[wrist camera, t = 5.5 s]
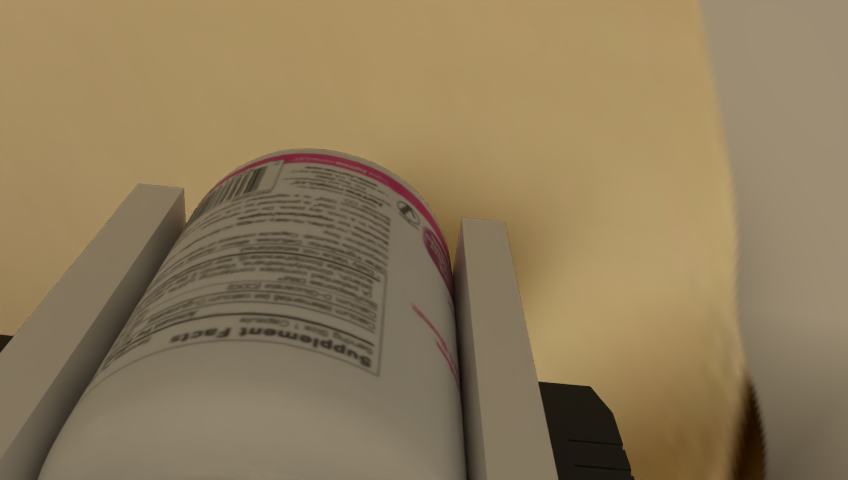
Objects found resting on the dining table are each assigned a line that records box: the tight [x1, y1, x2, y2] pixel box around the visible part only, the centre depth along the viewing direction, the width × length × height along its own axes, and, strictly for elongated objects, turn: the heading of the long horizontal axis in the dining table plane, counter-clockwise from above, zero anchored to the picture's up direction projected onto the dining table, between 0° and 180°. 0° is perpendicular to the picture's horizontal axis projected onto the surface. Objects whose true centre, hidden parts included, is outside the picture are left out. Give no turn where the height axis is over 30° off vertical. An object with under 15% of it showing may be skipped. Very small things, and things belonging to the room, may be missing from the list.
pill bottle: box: [38, 149, 467, 480], centre depth 9 cm, size 5×5×8 cm
